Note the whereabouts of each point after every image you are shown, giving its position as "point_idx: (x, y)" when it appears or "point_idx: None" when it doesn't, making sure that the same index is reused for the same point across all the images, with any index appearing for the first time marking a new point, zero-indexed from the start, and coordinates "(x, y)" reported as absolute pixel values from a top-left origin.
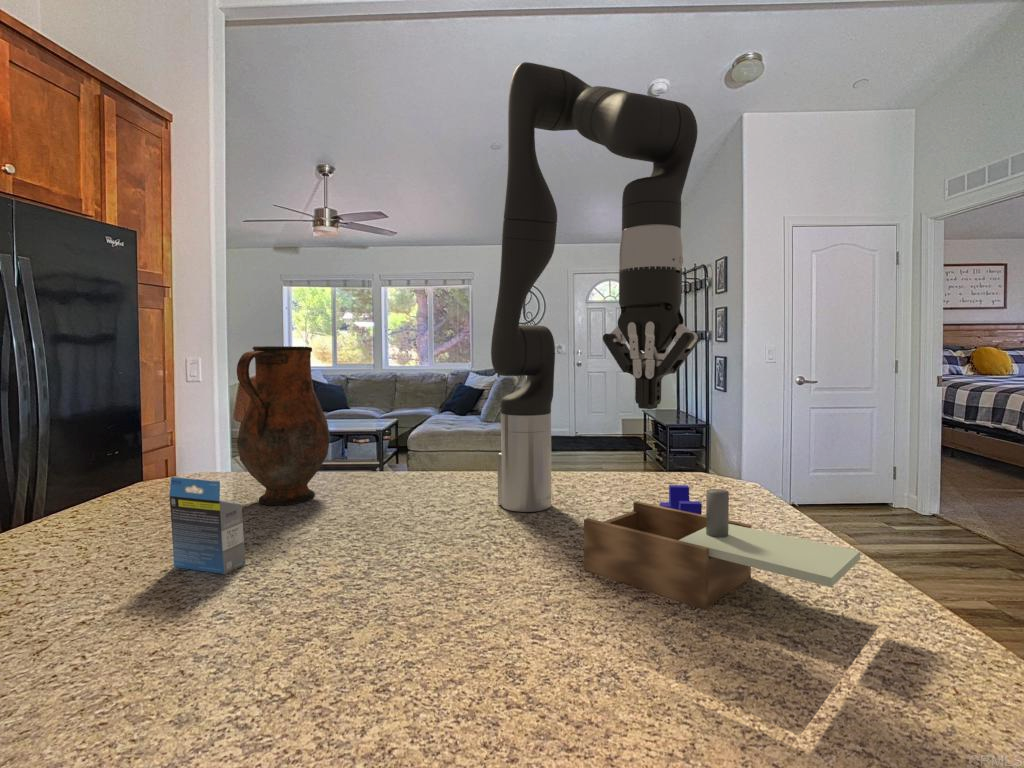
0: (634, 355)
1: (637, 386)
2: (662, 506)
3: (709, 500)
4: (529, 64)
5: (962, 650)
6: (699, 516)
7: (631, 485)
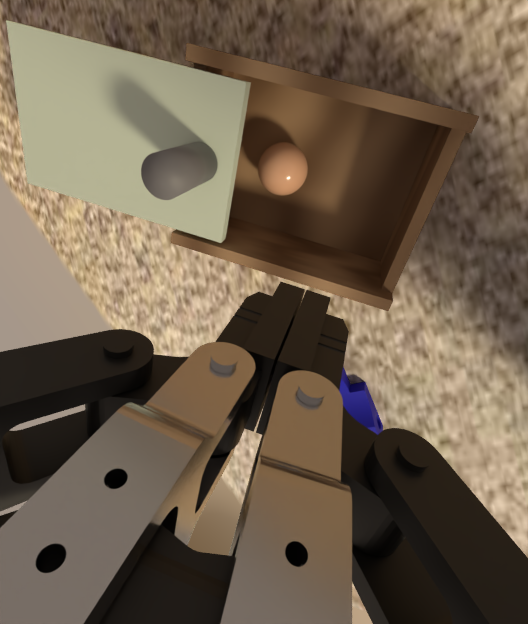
0: (304, 490)
1: (328, 363)
2: (373, 426)
3: (179, 154)
4: None
5: (4, 134)
6: (254, 257)
7: None
